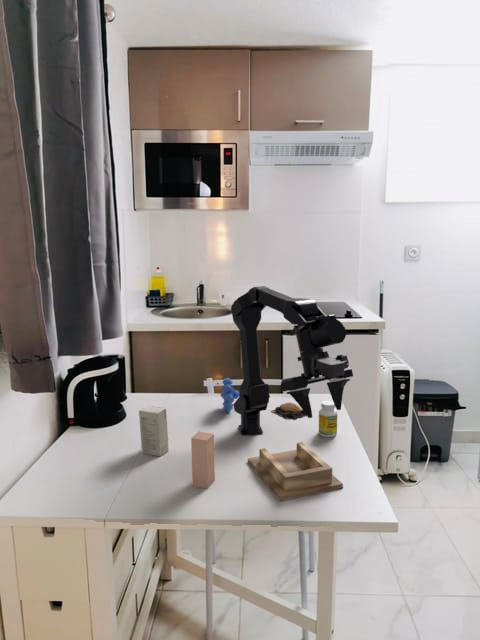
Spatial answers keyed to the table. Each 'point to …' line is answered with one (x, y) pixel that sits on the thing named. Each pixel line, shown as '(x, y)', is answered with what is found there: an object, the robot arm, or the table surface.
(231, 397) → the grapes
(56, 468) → the table surface
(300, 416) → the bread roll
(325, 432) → the supplement bottle
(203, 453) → the clay block
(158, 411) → the skincare box
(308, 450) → the rack
